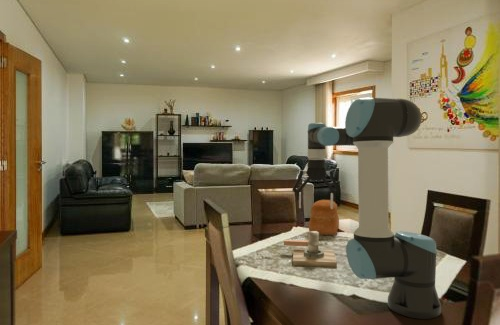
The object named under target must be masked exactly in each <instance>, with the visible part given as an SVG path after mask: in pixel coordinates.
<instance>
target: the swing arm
mask: <svg viewBox="0 0 500 325" xmlns="http://www.w3.org/2000/svg"><path fill="white" fill-rule="evenodd" d="M283 246H288V247H290V246H293V247H308V240H303V239H301V240H300V239H283Z"/></svg>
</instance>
